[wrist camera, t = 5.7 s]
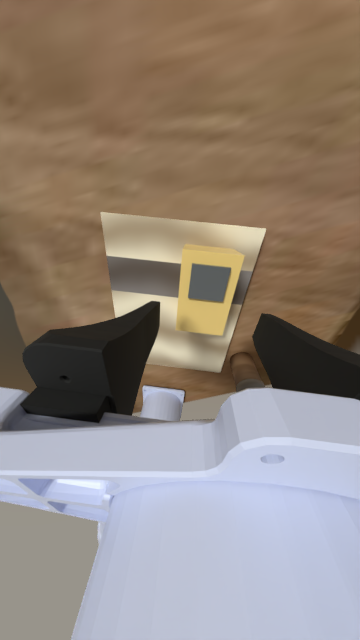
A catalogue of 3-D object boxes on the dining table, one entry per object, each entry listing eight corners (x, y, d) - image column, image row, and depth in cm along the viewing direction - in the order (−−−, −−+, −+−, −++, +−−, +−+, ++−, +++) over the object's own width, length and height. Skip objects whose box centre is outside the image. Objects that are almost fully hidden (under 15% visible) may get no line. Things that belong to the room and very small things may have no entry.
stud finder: (217, 317, 20) (222, 338, 16) (178, 312, 20) (175, 332, 17) (234, 249, 16) (246, 256, 12) (185, 244, 16) (182, 249, 12)
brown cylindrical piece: (248, 369, 26) (261, 404, 21) (226, 366, 26) (234, 401, 21) (255, 353, 24) (272, 387, 19) (232, 350, 24) (242, 383, 19)
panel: (219, 367, 26) (220, 372, 25) (124, 355, 27) (121, 360, 26) (261, 228, 16) (266, 228, 15) (106, 212, 16) (100, 212, 15)
